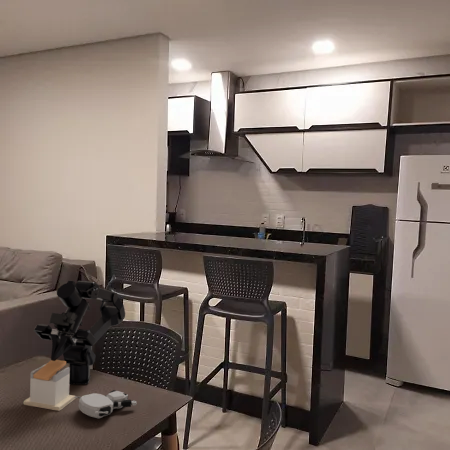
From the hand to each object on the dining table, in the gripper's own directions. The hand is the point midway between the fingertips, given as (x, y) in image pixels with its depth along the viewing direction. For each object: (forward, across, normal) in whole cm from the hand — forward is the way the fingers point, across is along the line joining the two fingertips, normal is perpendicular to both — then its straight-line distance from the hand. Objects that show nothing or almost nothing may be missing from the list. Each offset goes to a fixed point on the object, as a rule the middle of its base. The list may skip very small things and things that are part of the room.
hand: (52, 360), depth 132 cm
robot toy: (+9, +18, +9) cm, 22 cm away
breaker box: (+10, 0, +8) cm, 12 cm away
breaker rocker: (+3, 0, +2) cm, 3 cm away
